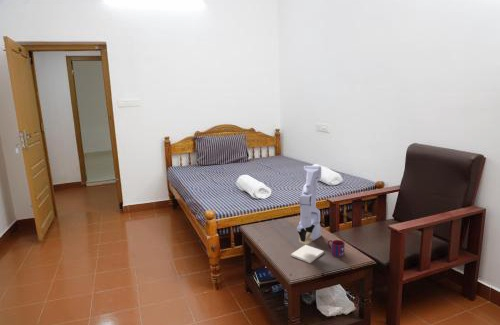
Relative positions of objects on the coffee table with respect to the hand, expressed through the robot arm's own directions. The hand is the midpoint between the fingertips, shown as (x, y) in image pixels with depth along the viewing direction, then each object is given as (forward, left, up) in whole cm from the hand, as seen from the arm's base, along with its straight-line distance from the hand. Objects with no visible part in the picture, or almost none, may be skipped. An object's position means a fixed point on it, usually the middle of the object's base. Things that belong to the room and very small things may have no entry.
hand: (305, 239), depth 183 cm
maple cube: (0, 0, -2) cm, 2 cm away
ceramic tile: (0, +1, -9) cm, 9 cm away
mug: (-11, +12, -9) cm, 18 cm away
